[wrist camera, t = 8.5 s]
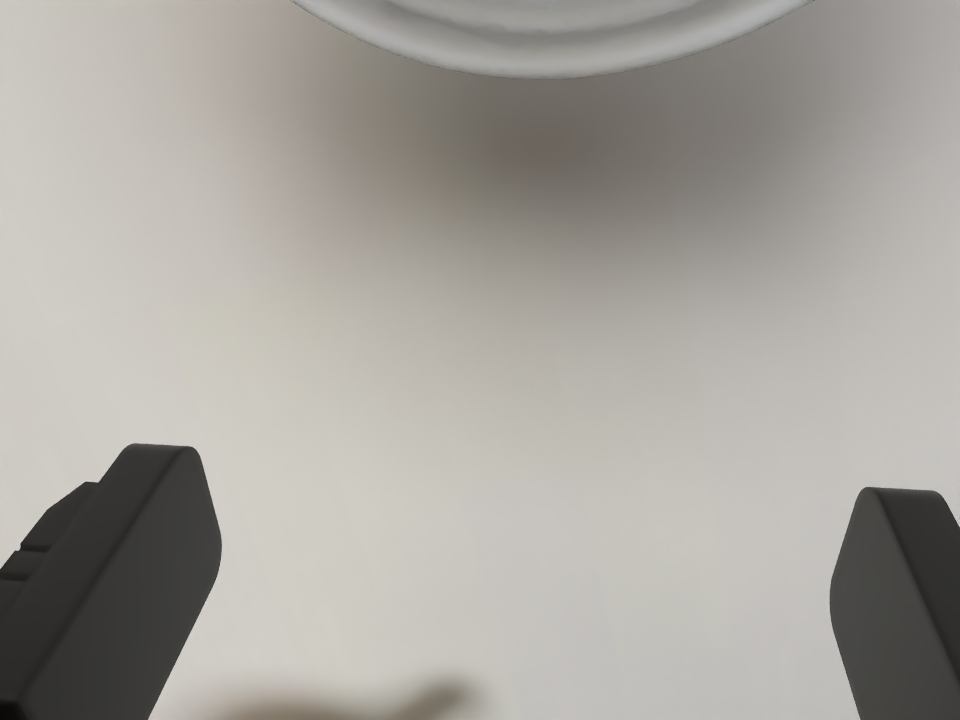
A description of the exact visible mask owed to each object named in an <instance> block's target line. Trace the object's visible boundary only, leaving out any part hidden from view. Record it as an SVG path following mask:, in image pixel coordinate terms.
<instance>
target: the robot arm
mask: <svg viewBox="0 0 960 720" xmlns="http://www.w3.org/2000/svg"><path fill="white" fill-rule="evenodd" d="M221 551H222V541H221V533H220V529H219V525H218V521H217V518H216V514H215V510H214V506H213V503H212V499H211V495H210V491H209V487H208V484H207V480H206V476H205V472H204V469H203V465H202V461H201V458H200V455H199V454H198V452H197V451H196V449H194V448H193V447H190V446H173V445H155V444H137V443H135V444H131V445H128V446H127V447H126V448H124V450H123V451H122V452H121V453H120V454H119V456H118V457H117V458H116V460H115V461H114V463H113V464H112V465H111V467H110V468H109V469H108V471H107V472H106V473H105V475H104V476H103V477H102V479H101V480H100V481H99V483H96V482H85V483H83V484H82V485H81V486H79V487H78V488H76V489H75V490H74V491H72V492H71V493H70V494H68V495H67V496H65V497H64V498H63V499H61V500H60V501H59V502H57V503H56V504H54V505H53V506H52V507H50V508H49V509H48V510H47V511H46V512H45V513H44V514H43V516H42V517H41V518H40V519H39V521H38V522H37V523H36V525H35V526H34V527H33V528H32V530H31V531H30V532H29V533H28V535H27V536H26V537H25V539H24V540H23V541H22V542H21V548H20V550H19V551H14V553H13V554H12V555H11V556H10V558H9V559H8V560H7V562H6V563H5V564H4V565H3V567H2V568H1V569H0V720H148V718H149V716H150V714H151V712H152V710H153V708H154V706H155V704H156V702H157V700H158V698H159V695H160V693H161V691H162V689H163V687H164V685H165V683H166V681H167V679H168V677H169V675H170V673H171V671H172V669H173V667H174V665H175V663H176V661H177V659H178V657H179V655H180V652H181V650H182V648H183V646H184V644H185V642H186V640H187V638H188V636H189V634H190V632H191V630H192V628H193V626H194V624H195V622H196V620H197V618H198V616H199V614H200V612H201V610H202V607H203V605H204V603H205V601H206V599H207V597H208V595H209V593H210V591H211V589H212V587H213V585H214V583H215V580H216V577H217V574H218V571H219V566H220V561H221ZM830 614H831V622H832V627H833V631H834V635H835V638H836V641H837V644H838V648H839V651H840V654H841V657H842V661H843V664H844V667H845V670H846V674H847V677H848V680H849V684H850V687H851V690H852V693H853V697H854V700H855V703H856V706H857V710H858V713H859V716H860V719H861V720H960V527H959V526H958V524H957V522H956V520H955V518H954V516H953V514H952V512H951V511H950V509H949V507H948V505H947V503H946V501H945V500H944V498H943V497H942V496H941V495H940V494H939V493H937V492H935V491H929V490H911V489H894V488H876V487H865V488H864V489H862V490H861V492H860V493H859V495H858V497H857V500H856V502H855V506H854V509H853V512H852V515H851V518H850V521H849V525H848V528H847V531H846V534H845V537H844V541H843V544H842V547H841V550H840V553H839V557H838V560H837V563H836V566H835V569H834V573H833V576H832V580H831V587H830Z"/></svg>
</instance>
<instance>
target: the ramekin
mask: <svg viewBox="0 0 960 720" xmlns="http://www.w3.org/2000/svg"><path fill="white" fill-rule="evenodd" d="M290 1H292V2H293V3H295V4H297V5H298V6H300V7H301V8H303V9H304V10H306V11H308V12H309V13H311V14H313V15H315V16H316V17H318V18H320V19H321V20H323V21H325V22H327V23H328V24H330V25H332V26H333V27H335V28H337V29H339V30H341V31H343V32H345V33H348V34H350V35H352V36H354V37H356V38H358V39H360V40H362V41H364V42H367V43H369V44H371V45H374V46H376V47H379V48H381V49H383V50H386V51H389V52H391V53H394V54H397V55H400V56H403V57H405V58H409V59H412V60H416V61H419V62H423V63H426V64H429V65H433V66H436V67H439V68H444V69H450V70H455V71H460V72H465V73H471V74H478V75H485V76H496V77H507V78H540V79H570V78H579V77H587V76H595V75H603V74H611V73H617V72H623V71H628V70H633V69H638V68H643V67H647V66H652V65H656V64H661V63H665V62H669V61H672V60H676V59H679V58H682V57H686V56H689V55H692V54H695V53H699V52H702V51H705V50H708V49H710V48H713V47H716V46H718V45H721V44H724V43H726V42H729V41H732V40H734V39H736V38H739V37H741V36H743V35H745V34H748V33H750V32H752V31H754V30H757V29H759V28H761V27H763V26H766V25H768V24H770V23H772V22H774V21H776V20H778V19H780V18H781V17H783V16H785V15H787V14H789V13H791V12H793V11H795V10H797V9H799V8H801V7H803V6H805V5H807V4H808V3H810V2H812V1H814V0H290Z"/></svg>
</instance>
